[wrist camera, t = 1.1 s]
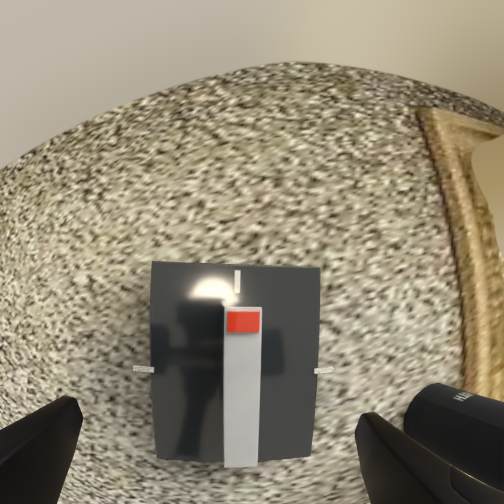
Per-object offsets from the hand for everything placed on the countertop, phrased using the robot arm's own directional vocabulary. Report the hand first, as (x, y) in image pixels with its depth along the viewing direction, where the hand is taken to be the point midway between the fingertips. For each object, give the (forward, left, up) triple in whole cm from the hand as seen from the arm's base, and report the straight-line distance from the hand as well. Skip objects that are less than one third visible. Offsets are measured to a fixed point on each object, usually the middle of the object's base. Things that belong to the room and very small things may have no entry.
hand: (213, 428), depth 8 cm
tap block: (-1, -1, -13) cm, 14 cm away
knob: (-1, -1, -10) cm, 11 cm away
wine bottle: (-8, -20, -14) cm, 26 cm away
